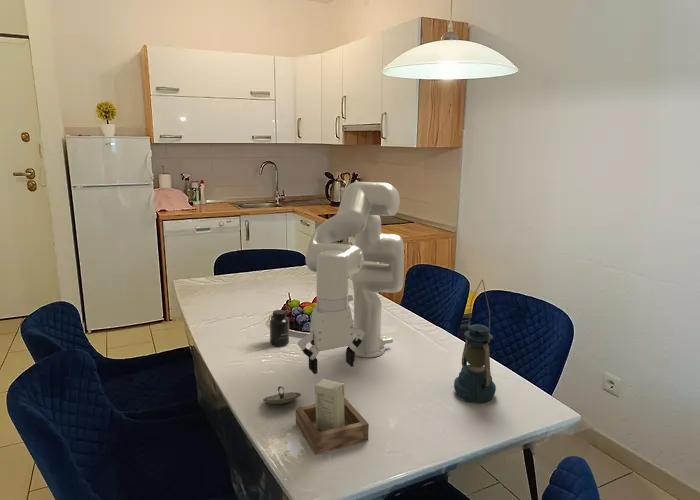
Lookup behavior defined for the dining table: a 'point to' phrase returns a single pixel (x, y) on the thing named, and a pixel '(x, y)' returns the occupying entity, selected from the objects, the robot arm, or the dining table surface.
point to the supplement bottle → (279, 329)
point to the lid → (282, 397)
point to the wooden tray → (332, 438)
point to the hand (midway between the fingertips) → (332, 368)
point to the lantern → (476, 365)
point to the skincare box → (329, 405)
